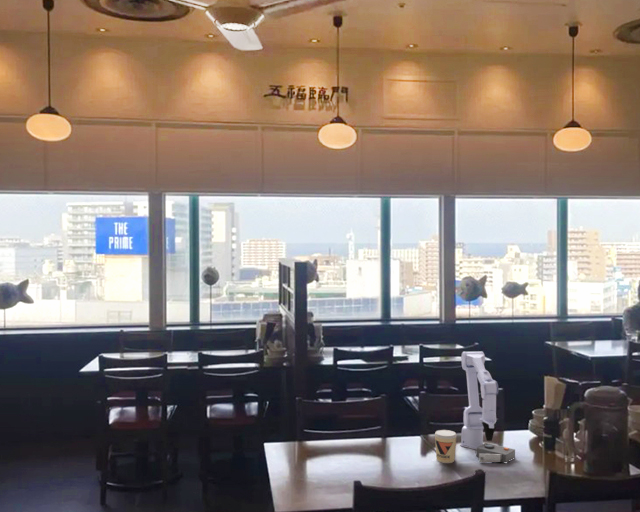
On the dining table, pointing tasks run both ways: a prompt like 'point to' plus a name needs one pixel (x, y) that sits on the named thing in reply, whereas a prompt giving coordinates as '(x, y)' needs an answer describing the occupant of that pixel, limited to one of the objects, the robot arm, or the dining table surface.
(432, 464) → the dining table surface
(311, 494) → the dining table surface
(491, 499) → the dining table surface
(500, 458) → the side door
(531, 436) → the dining table surface
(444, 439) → the coffee cup
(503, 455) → the camera case
